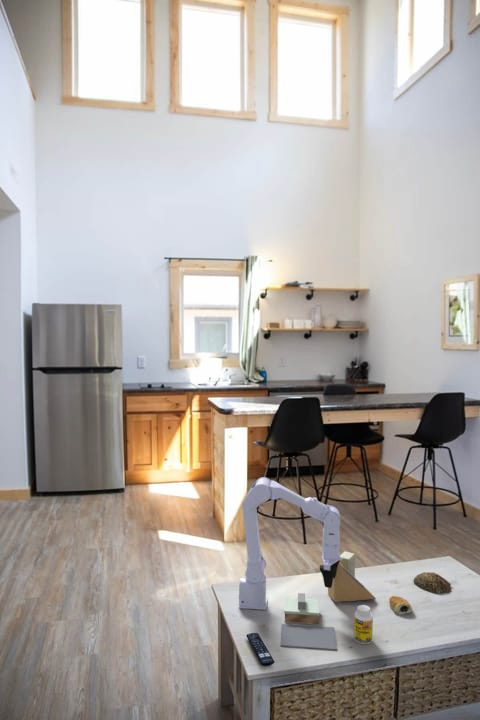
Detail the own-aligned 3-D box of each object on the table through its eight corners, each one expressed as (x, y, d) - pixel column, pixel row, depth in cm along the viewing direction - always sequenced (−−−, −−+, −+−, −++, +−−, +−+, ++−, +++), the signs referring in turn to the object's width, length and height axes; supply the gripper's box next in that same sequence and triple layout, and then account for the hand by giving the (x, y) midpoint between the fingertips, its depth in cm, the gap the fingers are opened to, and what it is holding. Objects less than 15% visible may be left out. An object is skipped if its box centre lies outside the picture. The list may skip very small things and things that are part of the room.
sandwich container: (376, 599, 188) (374, 555, 190) (334, 601, 186) (333, 557, 188) (368, 591, 197) (366, 549, 199) (327, 594, 195) (326, 551, 197)
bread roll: (408, 582, 205) (409, 569, 205) (433, 576, 210) (433, 563, 210) (433, 597, 194) (434, 583, 193) (458, 590, 199) (459, 577, 199)
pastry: (384, 602, 190) (384, 591, 190) (402, 601, 191) (402, 590, 191) (395, 615, 181) (395, 604, 180) (414, 614, 181) (414, 603, 181)
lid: (284, 614, 175) (284, 603, 175) (284, 600, 185) (284, 589, 185) (319, 617, 174) (319, 605, 174) (318, 602, 184) (318, 591, 183)
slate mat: (280, 646, 162) (280, 645, 162) (281, 624, 174) (281, 623, 174) (336, 650, 160) (336, 649, 160) (334, 628, 172) (334, 627, 172)
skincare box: (344, 581, 205) (345, 550, 204) (355, 584, 202) (355, 553, 201) (337, 588, 199) (337, 556, 199) (348, 591, 197) (348, 559, 196)
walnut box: (284, 621, 176) (284, 613, 176) (285, 607, 185) (285, 599, 184) (318, 624, 175) (318, 615, 174) (317, 609, 183) (317, 601, 183)
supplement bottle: (352, 642, 164) (353, 610, 164) (355, 633, 169) (356, 602, 169) (371, 646, 162) (371, 614, 162) (373, 637, 167) (374, 605, 167)
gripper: (339, 553, 174) (338, 593, 175) (345, 537, 188) (345, 575, 188) (317, 550, 176) (317, 590, 177) (325, 534, 190) (325, 571, 191)
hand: (330, 582), depth 183 cm, fingers open, 7 cm apart
